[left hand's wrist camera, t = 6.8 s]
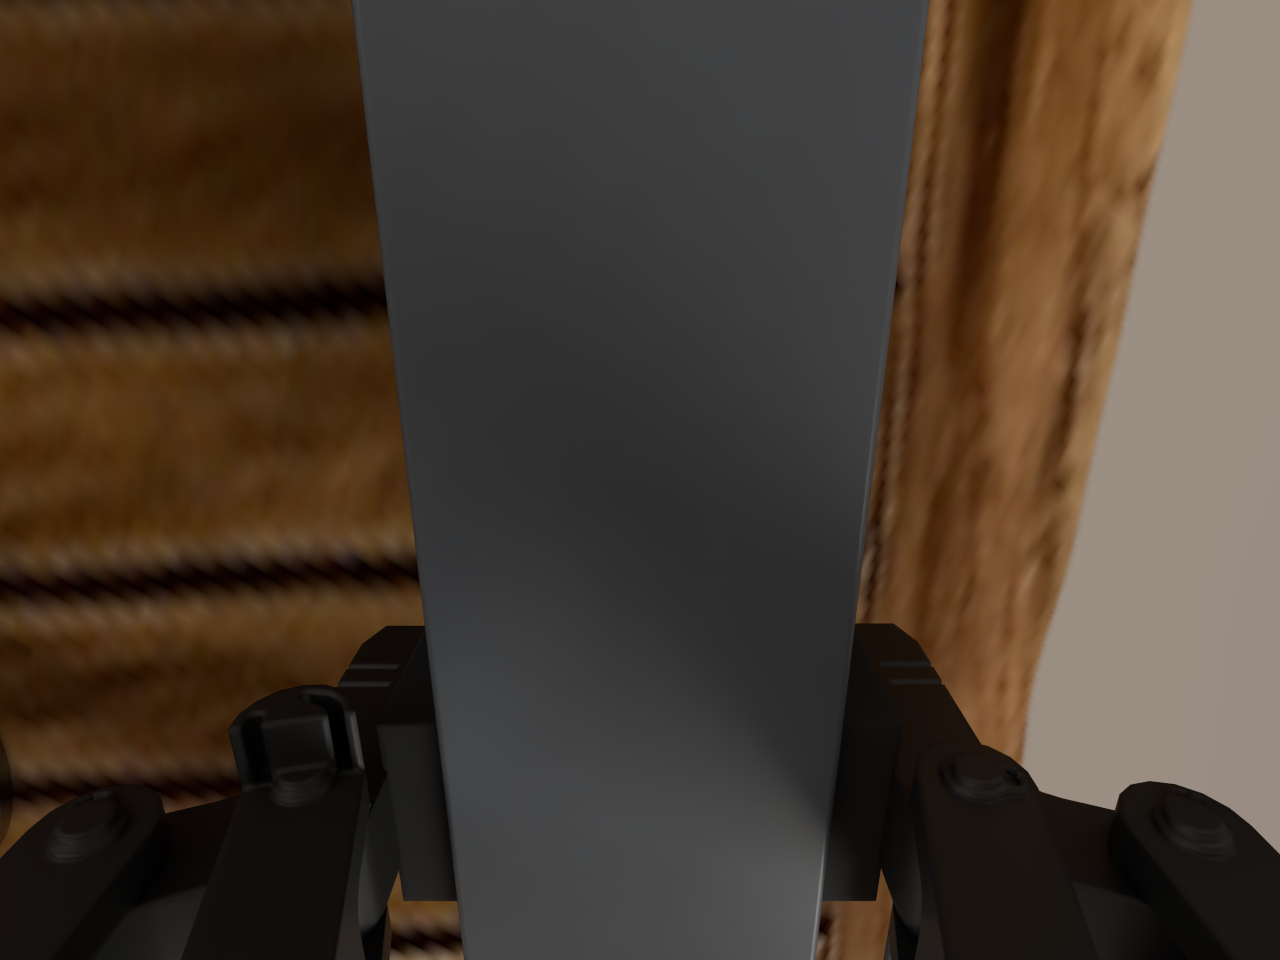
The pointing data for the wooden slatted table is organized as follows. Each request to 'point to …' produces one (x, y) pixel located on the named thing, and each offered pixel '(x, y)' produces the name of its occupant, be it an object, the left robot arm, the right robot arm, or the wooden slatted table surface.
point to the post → (639, 440)
